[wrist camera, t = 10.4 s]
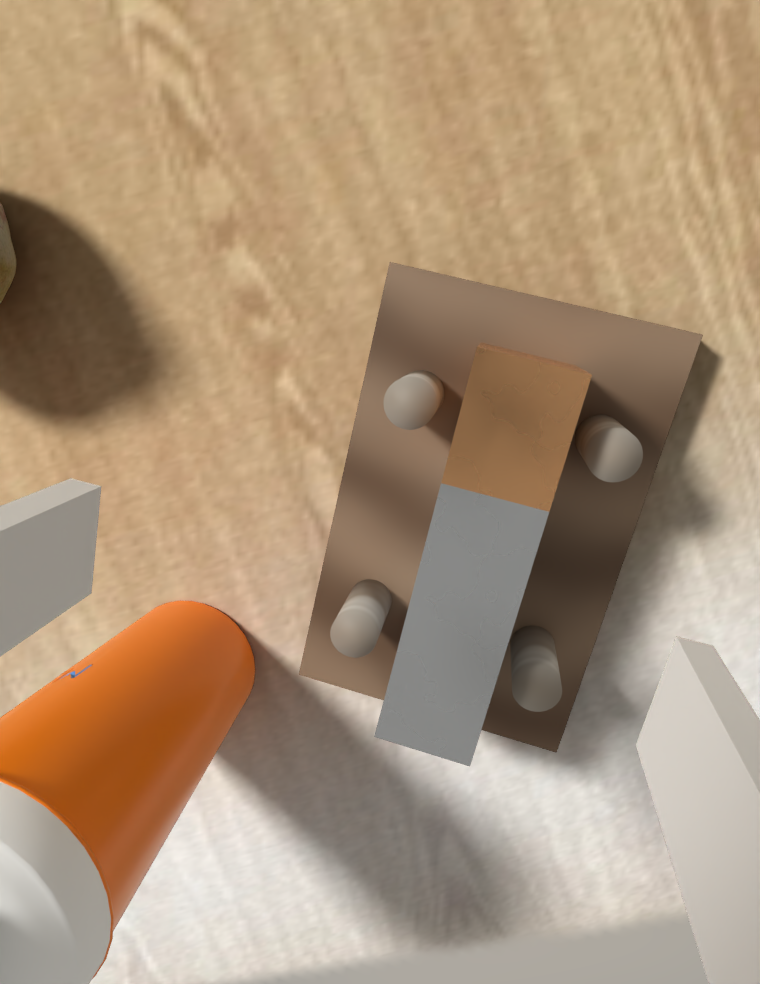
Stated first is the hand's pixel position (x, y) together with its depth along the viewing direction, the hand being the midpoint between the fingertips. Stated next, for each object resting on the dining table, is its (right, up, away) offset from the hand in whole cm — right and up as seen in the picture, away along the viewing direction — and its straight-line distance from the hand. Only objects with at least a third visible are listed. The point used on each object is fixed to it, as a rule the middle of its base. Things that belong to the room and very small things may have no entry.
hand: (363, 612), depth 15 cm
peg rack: (+5, +2, +17) cm, 18 cm away
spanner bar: (+5, +1, +16) cm, 16 cm away
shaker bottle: (-10, -6, +22) cm, 25 cm away
